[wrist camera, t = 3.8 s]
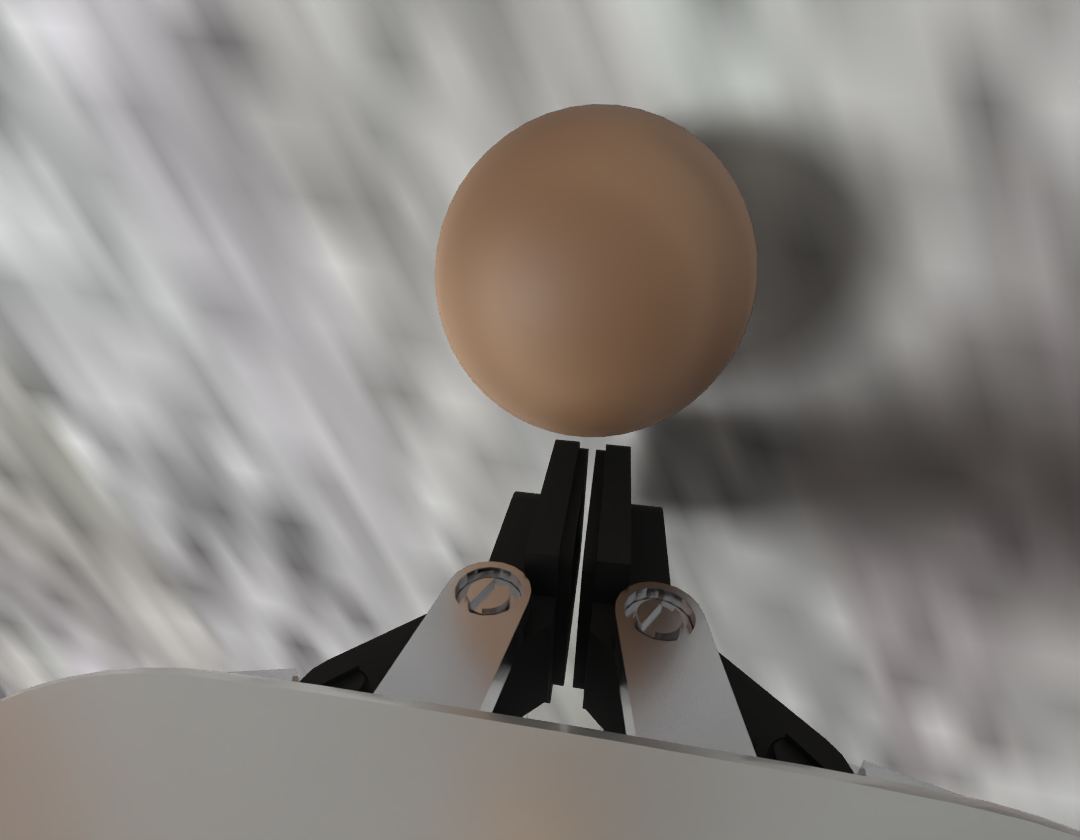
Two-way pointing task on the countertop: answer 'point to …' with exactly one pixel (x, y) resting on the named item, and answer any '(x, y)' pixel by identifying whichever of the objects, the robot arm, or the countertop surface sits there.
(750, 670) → the countertop surface
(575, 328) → the brown egg
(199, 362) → the countertop surface
